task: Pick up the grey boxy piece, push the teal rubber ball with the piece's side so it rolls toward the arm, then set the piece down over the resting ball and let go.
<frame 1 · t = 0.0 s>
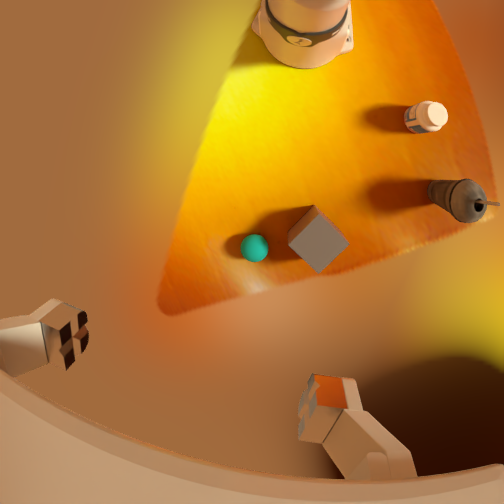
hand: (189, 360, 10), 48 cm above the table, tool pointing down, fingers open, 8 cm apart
pill bottle: (415, 119, 48), on the table
beverage cup: (436, 191, 52), on the table
grey boxy piece: (314, 231, 57), on the table
ball: (254, 248, 56), on the table
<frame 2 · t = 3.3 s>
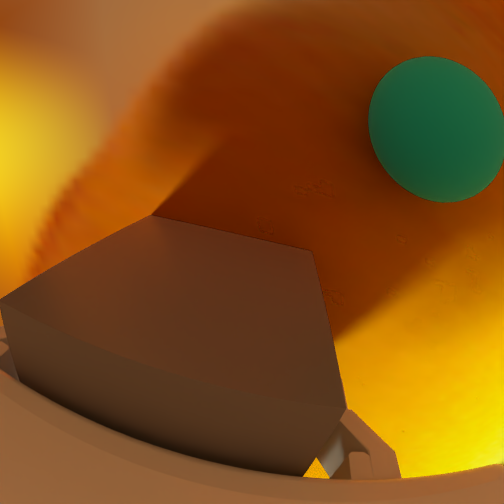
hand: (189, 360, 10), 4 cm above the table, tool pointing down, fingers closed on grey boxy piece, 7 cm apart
grey boxy piece: (215, 305, 14), on the table, touching gripper
ball: (438, 128, 8), on the table
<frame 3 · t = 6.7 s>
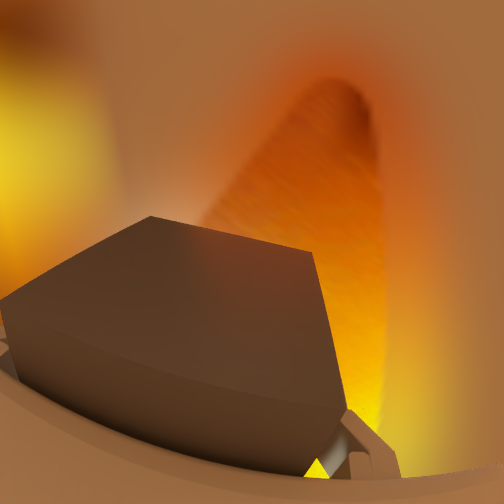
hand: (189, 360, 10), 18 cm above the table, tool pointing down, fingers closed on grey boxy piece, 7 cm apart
grey boxy piece: (214, 307, 14), point 14 cm above the table, touching gripper
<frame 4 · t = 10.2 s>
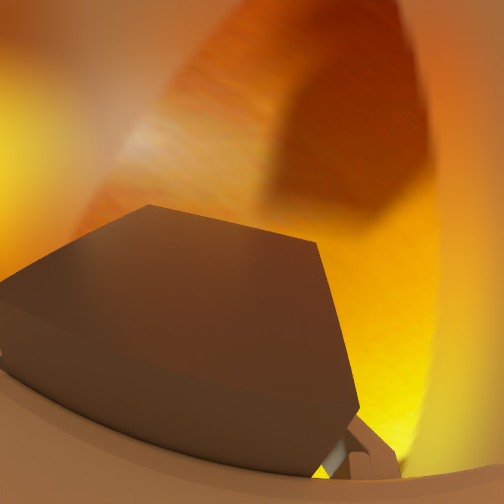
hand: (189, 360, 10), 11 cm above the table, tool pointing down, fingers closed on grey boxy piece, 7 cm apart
grey boxy piece: (215, 299, 13), point 7 cm above the table, touching gripper
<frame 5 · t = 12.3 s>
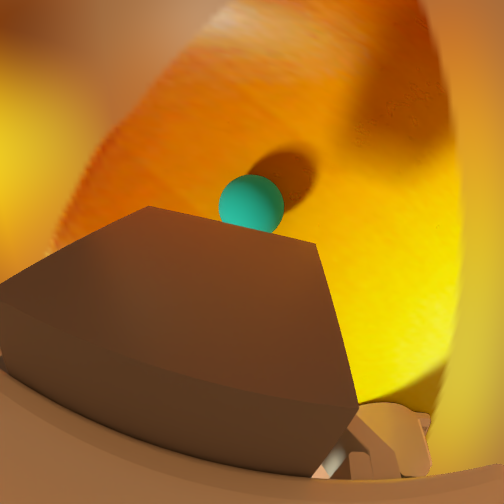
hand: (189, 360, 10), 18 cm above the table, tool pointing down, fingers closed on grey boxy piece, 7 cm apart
grey boxy piece: (214, 300, 13), point 14 cm above the table, touching gripper
ball: (251, 207, 24), on the table
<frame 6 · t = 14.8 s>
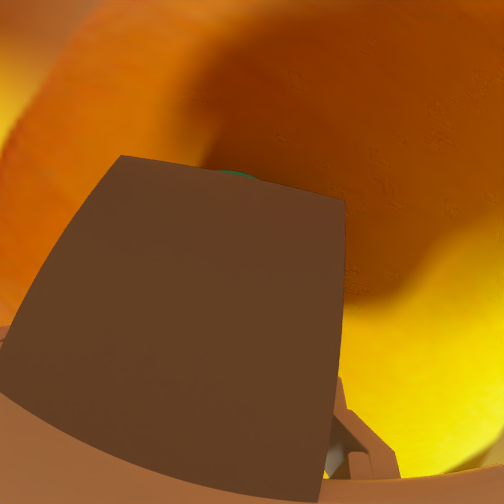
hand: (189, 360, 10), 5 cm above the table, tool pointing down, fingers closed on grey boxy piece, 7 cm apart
grey boxy piece: (221, 247, 12), point 2 cm above the table, tilted 34°, touching ball, gripper
when the fingers open (5 cm above the table, at t = 15.3 s): grey boxy piece drops 2 cm, on the table.
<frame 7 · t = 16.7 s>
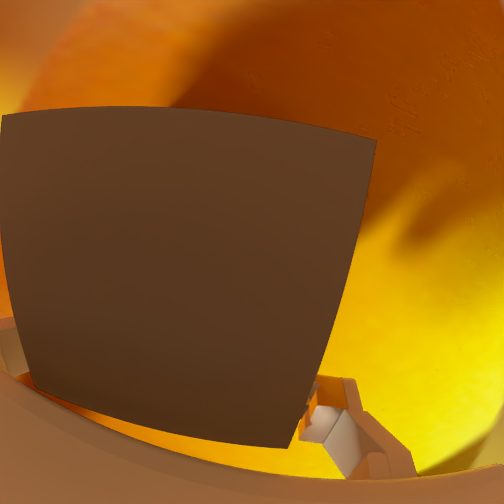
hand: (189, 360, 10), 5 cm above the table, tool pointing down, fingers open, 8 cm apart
grey boxy piece: (211, 213, 13), on the table
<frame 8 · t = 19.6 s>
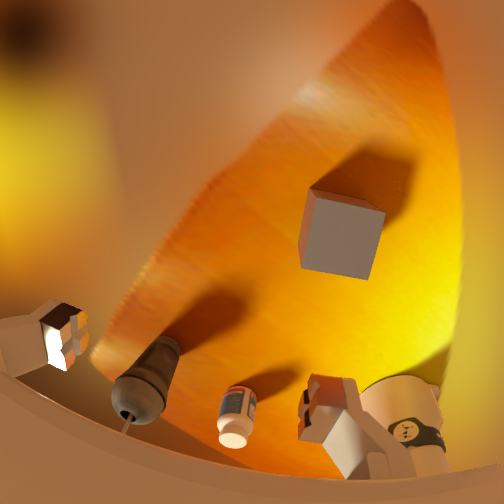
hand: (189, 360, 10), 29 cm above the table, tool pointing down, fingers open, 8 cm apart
pill bottle: (241, 395, 47), on the table
beverage cup: (167, 346, 46), on the table
grey boxy piece: (331, 221, 37), on the table
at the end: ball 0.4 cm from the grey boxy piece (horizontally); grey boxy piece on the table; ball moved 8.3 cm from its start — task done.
